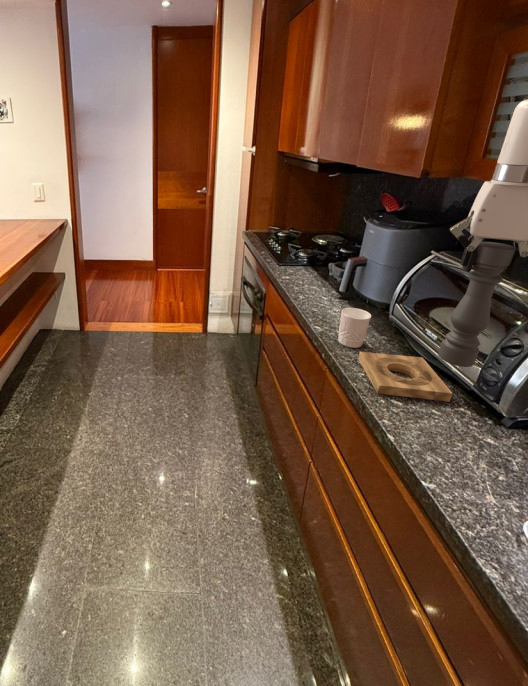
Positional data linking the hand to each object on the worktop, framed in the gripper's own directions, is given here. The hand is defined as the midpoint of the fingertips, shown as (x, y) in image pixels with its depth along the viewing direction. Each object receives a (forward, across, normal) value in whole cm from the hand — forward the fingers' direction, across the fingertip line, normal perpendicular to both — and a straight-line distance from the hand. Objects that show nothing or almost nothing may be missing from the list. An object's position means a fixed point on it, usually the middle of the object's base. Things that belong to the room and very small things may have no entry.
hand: (486, 271), depth 75 cm
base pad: (+36, +6, -14) cm, 38 cm away
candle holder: (+20, 0, 0) cm, 20 cm away
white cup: (+36, +17, -29) cm, 49 cm away
